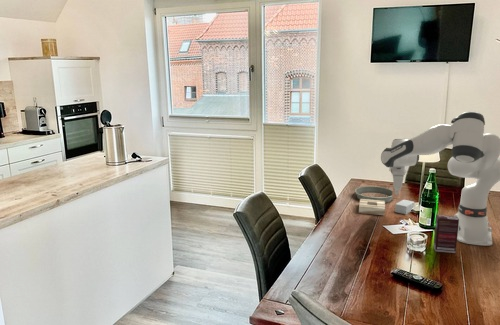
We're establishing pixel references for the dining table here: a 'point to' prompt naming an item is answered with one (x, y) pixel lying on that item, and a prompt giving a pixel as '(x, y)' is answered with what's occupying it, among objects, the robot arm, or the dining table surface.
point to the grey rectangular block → (404, 206)
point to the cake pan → (374, 190)
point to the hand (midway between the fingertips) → (396, 192)
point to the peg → (395, 194)
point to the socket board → (372, 207)
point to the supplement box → (446, 233)
